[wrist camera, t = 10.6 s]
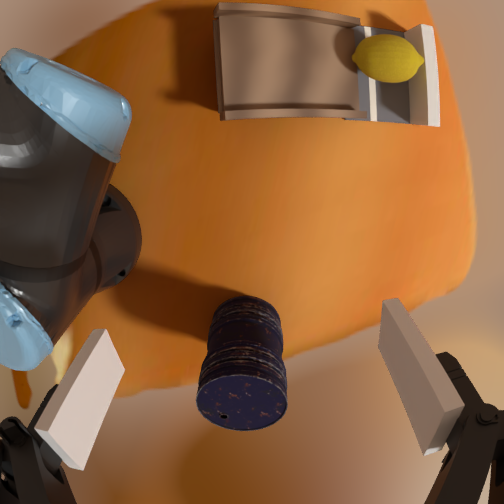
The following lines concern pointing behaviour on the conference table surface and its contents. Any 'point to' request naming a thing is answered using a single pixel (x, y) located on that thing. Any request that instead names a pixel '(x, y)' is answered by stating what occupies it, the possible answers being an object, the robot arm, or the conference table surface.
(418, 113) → the rail
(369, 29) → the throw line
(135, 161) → the conference table surface
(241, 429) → the dark blue upright cylinder
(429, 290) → the conference table surface
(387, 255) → the conference table surface
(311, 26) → the ramp
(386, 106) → the lane mat
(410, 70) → the lemon
